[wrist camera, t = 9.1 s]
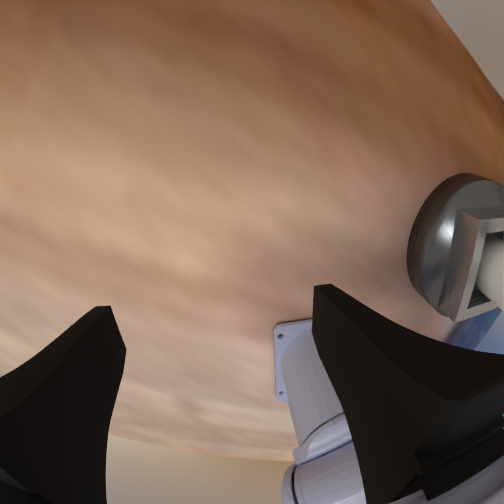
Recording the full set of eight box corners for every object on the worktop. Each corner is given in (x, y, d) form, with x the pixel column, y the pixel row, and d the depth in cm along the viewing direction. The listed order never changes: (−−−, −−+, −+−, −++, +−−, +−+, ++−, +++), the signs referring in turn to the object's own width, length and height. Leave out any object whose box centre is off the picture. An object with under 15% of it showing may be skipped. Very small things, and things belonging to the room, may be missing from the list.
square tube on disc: (483, 288, 25) (515, 315, 20) (396, 310, 24) (428, 349, 19) (504, 175, 20) (547, 191, 15) (414, 171, 19) (464, 189, 14)
